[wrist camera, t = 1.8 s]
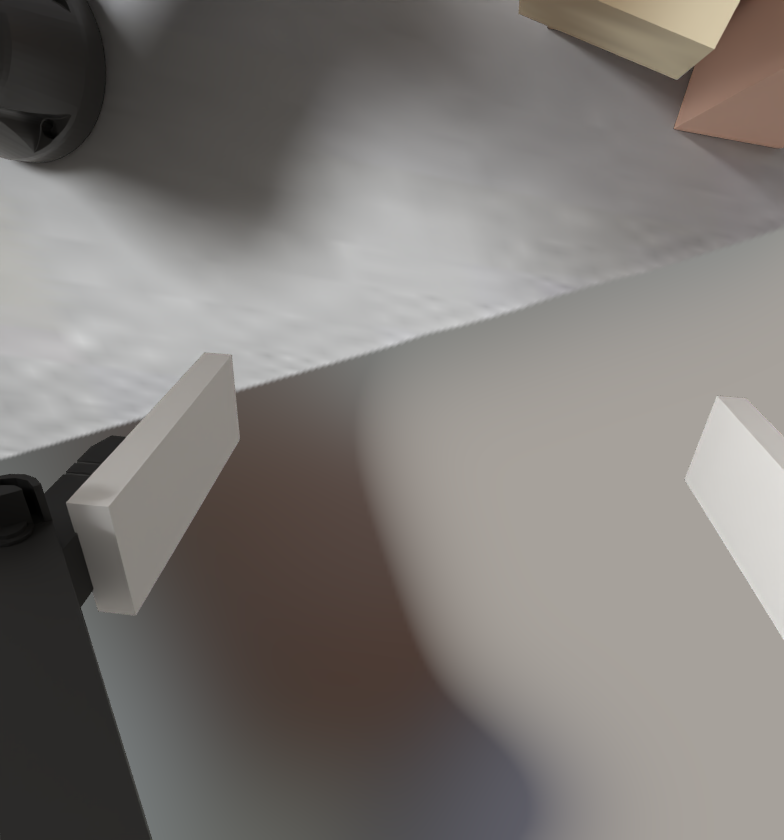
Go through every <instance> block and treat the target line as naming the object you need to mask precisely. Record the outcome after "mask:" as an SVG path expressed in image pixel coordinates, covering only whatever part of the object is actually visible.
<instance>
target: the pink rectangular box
mask: <svg viewBox="0 0 784 840" xmlns="http://www.w3.org/2000/svg"><path fill="white" fill-rule="evenodd" d="M674 129H676V130H681V131H686V132H692V133H697V134H703V135H708V136H713V137H719V138H724V139H730V140H735V141H740V142H746V143H751V144H757V145H762V146H767V147H773V148H778V149H780V148H784V0H740V2H739V4H738V6H737V8H736V9H735V11H734V13H733V15H732V17H731V19H730V21H729V23H728V25H727V26H726V28H725V30H724V32H723V34H722V36H721V38H720V40H719V42H718V43H717V45H716V47H715V49H714V50H713V51H712V52H710V53H709V54H708V55H707V56H706V57H704V58H703V59H702V60H701V61H699V62H698V63H697V64H696V65H695V66H694V69H693V72H692V75H691V78H690V81H689V84H688V87H687V90H686V93H685V96H684V99H683V102H682V105H681V108H680V111H679V114H678V117H677V120H676V123H675V126H674Z"/></svg>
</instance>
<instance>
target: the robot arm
mask: <svg viewBox="0 0 784 840" xmlns="http://www.w3.org/2000/svg"><path fill="white" fill-rule="evenodd" d="M104 90H105V58H104V50H103V45H102V41H101V37H100V33H99V30H98V27H97V24H96V21H95V19H94V16H93V14H92V12H91V9H90V7H89V5H88V3H87V2H86V0H0V157H1V158H5V159H10V160H17V161H25V162H34V163H36V162H48V161H53V160H56V159H59V158H61V157H63V156H65V155H67V154H69V153H70V152H72V151H73V150H74V149H76V148H77V147H78V146H79V145H80V144H81V143H82V142H83V141H84V140H85V138H86V137H87V136H88V134H89V133H90V131H91V130H92V128H93V126H94V124H95V122H96V120H97V118H98V115H99V112H100V109H101V106H102V102H103V97H104ZM239 440H240V437H239V426H238V415H237V405H236V394H235V384H234V374H233V363H232V355H228V354H216V353H204V354H203V355H202V356H201V357H200V358H199V359H198V360H197V361H196V362H195V363H194V364H193V365H192V367H191V368H190V369H189V370H188V371H187V372H186V373H185V374H184V375H183V376H182V377H181V378H180V380H179V381H178V382H177V383H176V384H175V385H174V386H173V387H172V388H171V389H170V390H169V391H168V393H167V394H166V395H165V396H164V397H163V398H162V399H161V400H160V401H159V402H158V403H157V404H156V406H155V407H154V408H153V409H152V410H151V411H150V412H149V413H148V414H147V415H146V416H145V417H144V419H143V420H142V421H141V422H140V423H139V424H138V425H137V426H136V427H135V428H134V429H133V430H132V432H131V433H130V434H129V435H128V436H127V437H121V436H110V437H108V438H106V439H105V440H103V441H101V442H99V443H97V444H95V445H93V446H92V447H90V448H89V449H88V450H87V451H86V453H84V454H83V455H82V457H80V458H79V459H78V461H77V463H74V464H73V465H72V466H71V467H70V468H69V469H68V470H67V471H66V475H62V476H61V477H60V478H59V480H58V481H56V482H55V483H54V484H53V486H52V487H50V488H49V489H48V490H47V492H45V493H44V492H43V489H42V486H41V484H40V483H39V481H38V480H37V479H36V478H34V477H31V476H28V475H25V474H8V475H2V476H0V840H152V837H151V834H150V830H149V827H148V824H147V821H146V818H145V814H144V811H143V808H142V805H141V801H140V798H139V795H138V792H137V789H136V785H135V782H134V779H133V775H132V772H131V769H130V766H129V762H128V759H127V756H126V753H125V750H124V746H123V743H122V740H121V736H120V733H119V730H118V727H117V724H116V720H115V717H114V714H113V711H112V708H111V704H110V701H109V698H108V694H107V691H106V688H105V685H104V681H103V678H102V675H101V672H100V668H99V665H98V662H97V659H96V656H95V653H94V649H93V646H92V643H91V639H90V636H89V633H88V630H87V626H86V623H85V620H84V617H83V614H82V611H81V606H82V605H83V603H84V602H85V600H86V599H87V597H88V596H89V595H90V593H91V592H93V595H94V598H95V602H96V605H97V609H98V611H100V612H108V613H118V614H127V615H136V614H137V612H138V611H139V609H140V607H141V606H142V604H143V602H144V601H145V599H146V597H147V595H148V594H149V592H150V590H151V589H152V587H153V585H154V584H155V582H156V580H157V579H158V577H159V575H160V574H161V572H162V570H163V569H164V567H165V565H166V563H167V562H168V560H169V558H170V557H171V555H172V553H173V552H174V550H175V548H176V547H177V545H178V543H179V541H180V540H181V538H182V536H183V535H184V533H185V531H186V530H187V528H188V526H189V524H190V523H191V521H192V519H193V518H194V516H195V514H196V512H197V511H198V509H199V508H200V506H201V504H202V502H203V500H204V499H205V497H206V496H207V494H208V492H209V491H210V489H211V487H212V485H213V484H214V482H215V480H216V478H217V477H218V475H219V474H220V472H221V470H222V469H223V467H224V465H225V463H226V462H227V460H228V458H229V457H230V455H231V453H232V452H233V450H234V448H235V447H236V445H237V443H238V441H239ZM684 480H685V481H686V483H687V484H688V486H689V488H690V489H691V491H692V493H693V494H694V496H695V497H696V499H697V501H698V502H699V504H700V505H701V507H702V509H703V510H704V512H705V514H706V515H707V517H708V519H709V520H710V522H711V523H712V525H713V527H714V528H715V530H716V531H717V533H718V535H719V536H720V538H721V540H722V541H723V542H724V544H725V546H726V548H727V549H728V551H729V552H730V554H731V556H732V557H733V559H734V560H735V562H736V564H737V565H738V567H739V569H740V570H741V572H742V573H743V575H744V577H745V578H746V580H747V582H748V583H749V585H750V586H751V588H752V590H753V591H754V593H755V595H756V596H757V598H758V599H759V601H760V603H761V604H762V606H763V607H764V609H765V611H766V612H767V614H768V615H769V617H770V619H771V620H772V622H773V624H774V625H775V627H776V628H777V630H778V632H779V633H780V635H781V636H782V638H783V640H784V436H783V435H782V434H781V433H780V432H779V431H778V430H777V429H776V428H775V427H774V426H773V425H772V424H771V423H770V422H769V421H768V419H766V417H764V416H763V414H762V413H761V412H760V411H759V410H758V409H757V408H756V407H755V406H754V405H753V404H752V403H751V402H750V401H749V400H748V399H747V398H739V397H728V396H717V397H716V400H715V402H714V405H713V407H712V409H711V412H710V415H709V417H708V420H707V422H706V425H705V427H704V431H703V433H702V435H701V438H700V440H699V443H698V445H697V448H696V451H695V453H694V456H693V458H692V461H691V463H690V466H689V469H688V471H687V474H686V476H685V479H684Z"/></svg>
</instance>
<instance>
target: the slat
mask: <svg viewBox="0 0 784 840" xmlns="http://www.w3.org/2000/svg"><path fill="white" fill-rule="evenodd" d="M739 2H740V0H520V2H519V14H521V15H523V16H525V17H528V18H530V19H532V20H535V21H537V22H540V23H542V24H544V25H547V26H549V27H552V28H554V29H556V30H559V31H561V32H563V33H566V34H568V35H571V36H573V37H575V38H578V39H580V40H583V41H585V42H587V43H590V44H592V45H594V46H597V47H599V48H602V49H604V50H606V51H609V52H611V53H614V54H616V55H618V56H621V57H623V58H625V59H628V60H630V61H633V62H635V63H637V64H640V65H642V66H645V67H647V68H649V69H652V70H654V71H656V72H659V73H661V74H664V75H666V76H668V77H671V78H673V79H675V80H678V79H679V78H680V77H681V76H682V75H684V74H685V73H686V72H687V71H689V70H690V69H691V68H692V67H693V66H695V65H696V64H697V63H698V62H699V61H701V60H702V59H703V58H704V57H706V56H707V55H708V54H709V53H710V52H712V51H713V50H714V49H715V47H716V45H717V43H718V42H719V40H720V38H721V36H722V34H723V32H724V30H725V28H726V26H727V25H728V23H729V21H730V19H731V17H732V15H733V13H734V11H735V9H736V8H737V6H738V4H739Z"/></svg>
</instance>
